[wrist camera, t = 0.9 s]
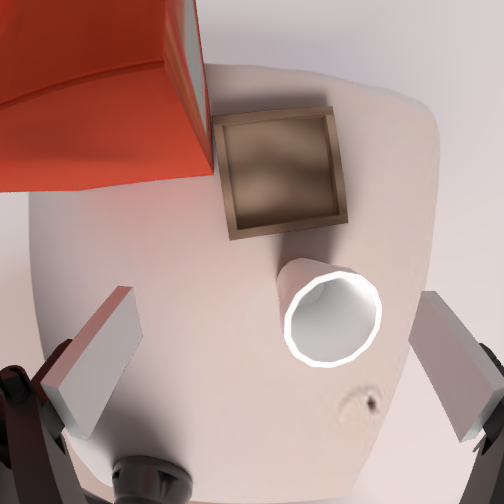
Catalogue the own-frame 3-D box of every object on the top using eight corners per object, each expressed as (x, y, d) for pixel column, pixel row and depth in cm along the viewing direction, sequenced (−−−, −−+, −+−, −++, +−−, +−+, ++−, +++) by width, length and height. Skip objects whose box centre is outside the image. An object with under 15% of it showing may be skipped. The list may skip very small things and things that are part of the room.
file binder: (77, 129, 33) (-133, 59, 2) (210, 109, 34) (182, -125, 3) (79, 190, 35) (-154, 215, 3) (213, 175, 36) (162, 79, 5)
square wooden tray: (340, 220, 38) (348, 222, 36) (229, 237, 37) (229, 240, 35) (325, 111, 36) (332, 106, 33) (212, 122, 35) (211, 117, 32)
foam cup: (293, 330, 41) (321, 384, 28) (248, 279, 39) (261, 321, 26) (348, 284, 40) (397, 321, 27) (308, 230, 38) (348, 249, 25)
